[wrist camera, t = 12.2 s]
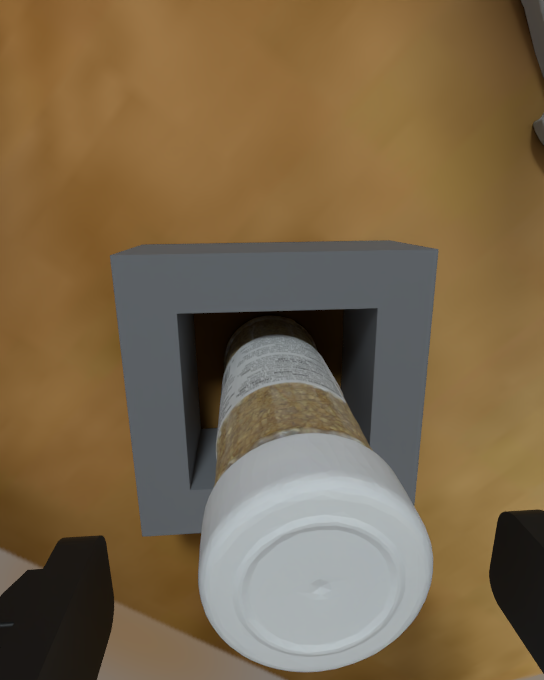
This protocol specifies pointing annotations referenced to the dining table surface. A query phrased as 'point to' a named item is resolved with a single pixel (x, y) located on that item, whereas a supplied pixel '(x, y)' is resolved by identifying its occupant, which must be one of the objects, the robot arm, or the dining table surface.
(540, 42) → the bracket
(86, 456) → the dining table surface
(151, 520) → the well
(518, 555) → the robot arm
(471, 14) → the dining table surface
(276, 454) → the sprinkles bottle
